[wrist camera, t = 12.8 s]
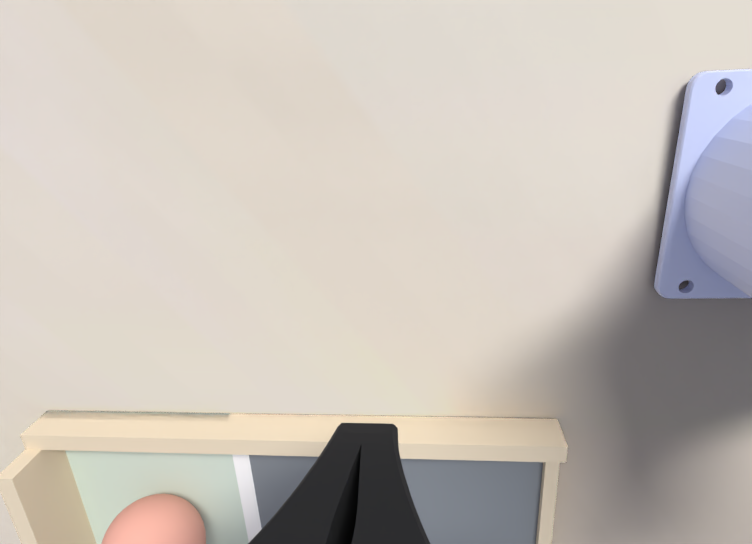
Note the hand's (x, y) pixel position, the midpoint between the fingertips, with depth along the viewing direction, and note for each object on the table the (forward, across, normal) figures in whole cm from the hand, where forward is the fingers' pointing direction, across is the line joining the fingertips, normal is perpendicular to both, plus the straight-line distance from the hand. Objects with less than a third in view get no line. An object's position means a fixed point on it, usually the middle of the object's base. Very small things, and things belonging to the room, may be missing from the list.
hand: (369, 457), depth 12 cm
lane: (+9, +5, +12) cm, 16 cm away
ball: (+7, +11, +11) cm, 17 cm away
